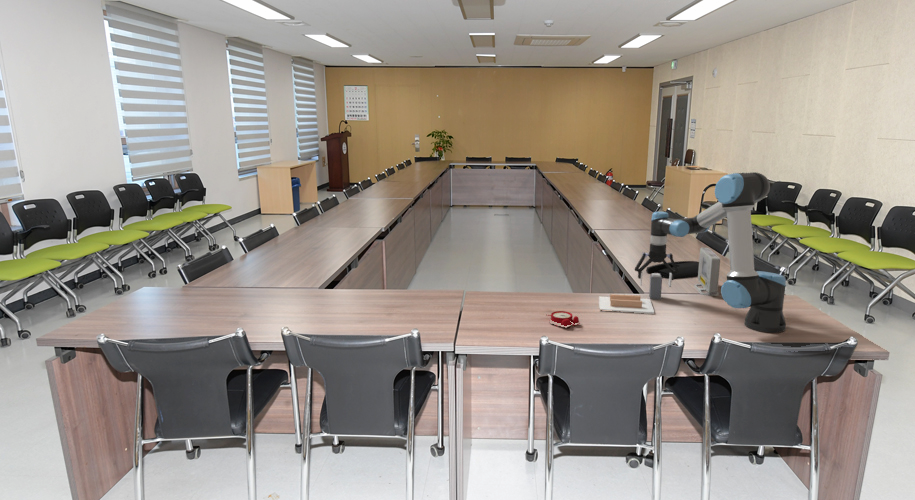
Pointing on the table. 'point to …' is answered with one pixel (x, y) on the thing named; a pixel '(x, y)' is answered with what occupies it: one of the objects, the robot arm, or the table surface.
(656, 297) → the connector plug
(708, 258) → the network device
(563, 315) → the alarm clock
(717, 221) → the robot arm
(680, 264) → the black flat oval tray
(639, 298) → the end holder
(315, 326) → the table surface
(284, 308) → the table surface
